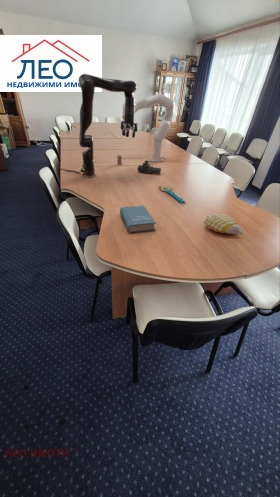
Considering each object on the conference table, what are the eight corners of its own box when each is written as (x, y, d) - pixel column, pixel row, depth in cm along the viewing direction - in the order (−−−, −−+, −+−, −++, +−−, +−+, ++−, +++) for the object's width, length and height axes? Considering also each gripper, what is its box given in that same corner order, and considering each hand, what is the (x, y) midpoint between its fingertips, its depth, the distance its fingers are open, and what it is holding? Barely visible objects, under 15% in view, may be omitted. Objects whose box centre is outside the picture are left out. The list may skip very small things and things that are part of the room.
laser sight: (159, 175, 211) (160, 165, 205) (136, 173, 213) (137, 162, 208) (160, 172, 218) (161, 162, 212) (138, 170, 221) (139, 159, 215)
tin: (122, 164, 233) (122, 156, 227) (118, 165, 231) (118, 156, 226) (120, 163, 236) (120, 154, 230) (116, 164, 234) (116, 155, 229)
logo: (158, 186, 187) (158, 185, 187) (168, 186, 190) (168, 185, 189) (173, 203, 162) (174, 202, 161) (185, 203, 164) (186, 201, 164)
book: (154, 230, 131) (155, 222, 128) (128, 232, 126) (128, 225, 124) (143, 212, 148) (143, 205, 145) (119, 214, 144) (120, 207, 141)
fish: (254, 225, 128) (232, 232, 118) (249, 236, 132) (228, 244, 123) (221, 208, 144) (199, 213, 134) (217, 218, 149) (196, 224, 139)
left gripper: (139, 114, 168) (138, 137, 178) (124, 112, 174) (124, 134, 183) (134, 114, 163) (133, 138, 173) (118, 112, 168) (118, 136, 178)
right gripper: (133, 118, 221) (132, 137, 231) (125, 116, 233) (125, 134, 243) (126, 118, 218) (125, 137, 228) (119, 116, 230) (118, 134, 240)
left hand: (128, 136), depth 178 cm, fingers open, 8 cm apart
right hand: (125, 136), depth 235 cm, fingers open, 9 cm apart
